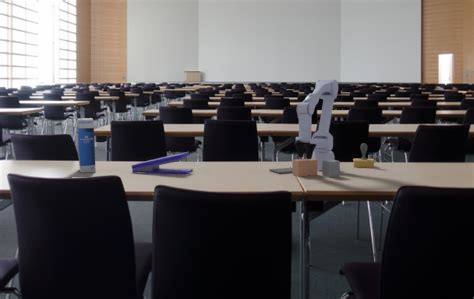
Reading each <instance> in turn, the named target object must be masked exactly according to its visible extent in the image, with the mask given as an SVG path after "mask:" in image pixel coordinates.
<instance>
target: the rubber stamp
mask: <svg viewBox="0 0 474 299" xmlns="http://www.w3.org/2000/svg"><path fill="white" fill-rule="evenodd" d="M360 151H361V154H362V157H361V158H353V159H352V160H353V163H352V164H353V168H375V160H374V159H373V158H367V157H366V154H367V151H368V145H367V143H361V144H360Z"/></svg>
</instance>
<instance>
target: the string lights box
mask: <svg viewBox="0 0 474 299" xmlns="http://www.w3.org/2000/svg"><path fill="white" fill-rule="evenodd" d="M76 119H77V125H76V126H77V144H78V145H77V148H78V162H79V163H78V164H79V165H78V166H79V172H80V174H82V173H96V172H97V170H96V169H97V168H96V151H95V150H96V149H95V148H96V147H95V127H94V126H95V125H94V119H93V118H92V117H89V118H87V117H86V118H76Z"/></svg>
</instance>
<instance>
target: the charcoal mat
mask: <svg viewBox="0 0 474 299" xmlns="http://www.w3.org/2000/svg"><path fill="white" fill-rule="evenodd" d="M269 172H271V173H275V174H278V175H283V173H285V174H292V167H281V168H270V169H269Z"/></svg>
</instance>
